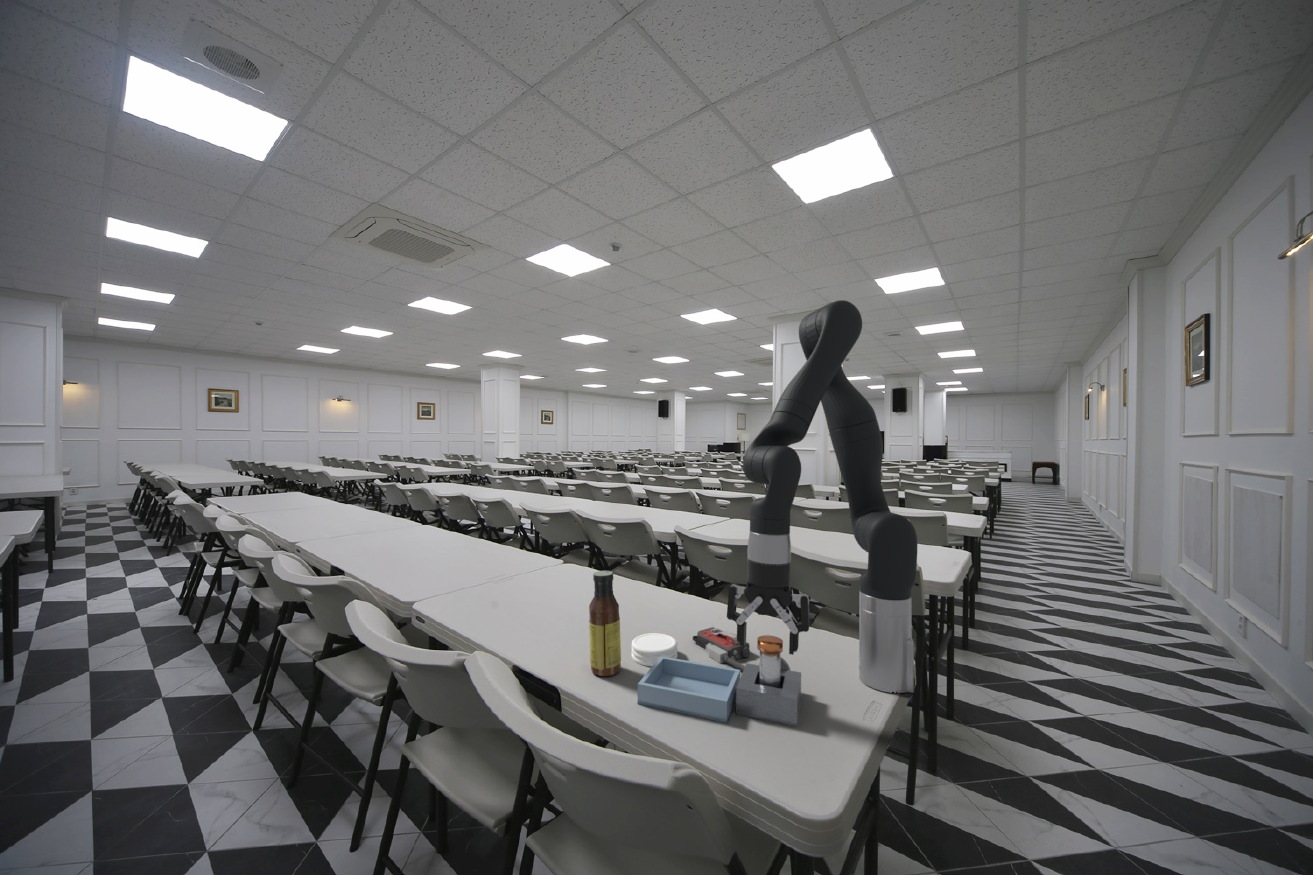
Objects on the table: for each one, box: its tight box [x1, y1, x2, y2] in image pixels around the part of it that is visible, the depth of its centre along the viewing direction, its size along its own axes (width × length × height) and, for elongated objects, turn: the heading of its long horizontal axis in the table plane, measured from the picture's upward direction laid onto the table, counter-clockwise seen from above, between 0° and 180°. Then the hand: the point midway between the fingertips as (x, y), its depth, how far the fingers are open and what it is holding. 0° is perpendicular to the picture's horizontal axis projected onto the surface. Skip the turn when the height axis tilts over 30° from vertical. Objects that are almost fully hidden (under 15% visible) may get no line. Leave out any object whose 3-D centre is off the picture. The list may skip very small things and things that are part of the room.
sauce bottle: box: [588, 570, 622, 677], centre depth 97 cm, size 6×6×20 cm
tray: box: [637, 656, 741, 724], centre depth 87 cm, size 16×12×4 cm
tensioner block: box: [735, 657, 802, 728], centre depth 85 cm, size 10×12×6 cm
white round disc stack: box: [630, 632, 678, 667], centre depth 103 cm, size 10×10×4 cm
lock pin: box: [756, 634, 784, 688], centre depth 84 cm, size 4×4×12 cm
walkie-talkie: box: [692, 626, 751, 671], centre depth 104 cm, size 9×4×20 cm
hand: (766, 648), depth 84 cm, fingers open, 8 cm apart
